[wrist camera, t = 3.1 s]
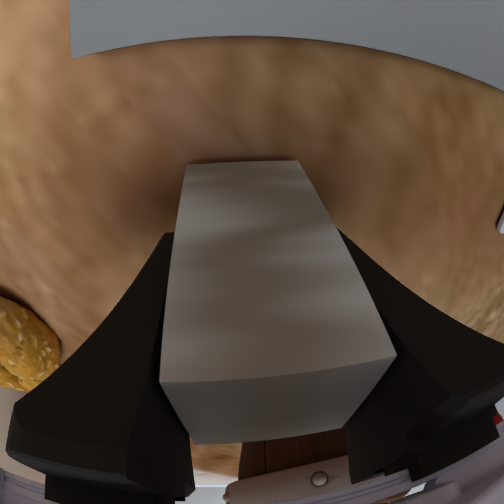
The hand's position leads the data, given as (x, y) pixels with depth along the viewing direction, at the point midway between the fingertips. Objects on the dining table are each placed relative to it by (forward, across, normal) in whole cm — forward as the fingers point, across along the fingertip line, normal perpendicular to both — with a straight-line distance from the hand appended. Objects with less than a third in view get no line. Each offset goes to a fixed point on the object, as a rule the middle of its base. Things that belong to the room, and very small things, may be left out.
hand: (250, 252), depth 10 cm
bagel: (+4, +17, +9) cm, 20 cm away
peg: (+3, 0, 0) cm, 3 cm away
